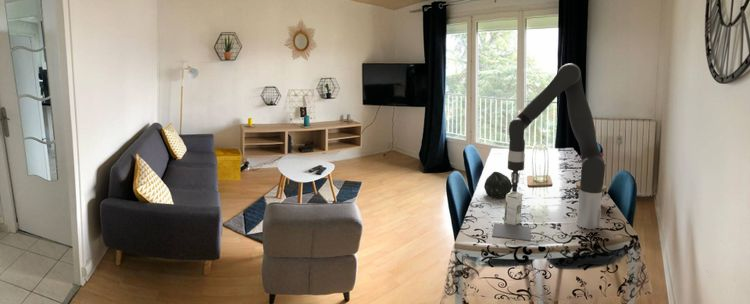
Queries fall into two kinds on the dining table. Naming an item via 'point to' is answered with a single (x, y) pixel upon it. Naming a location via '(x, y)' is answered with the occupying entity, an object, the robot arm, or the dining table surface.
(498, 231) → the mat
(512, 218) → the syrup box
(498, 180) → the squash
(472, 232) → the dining table surface
